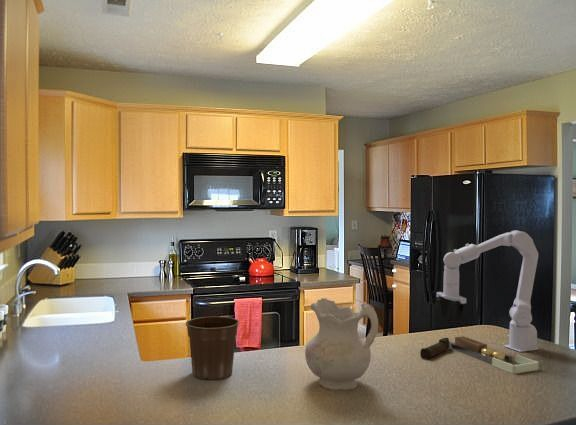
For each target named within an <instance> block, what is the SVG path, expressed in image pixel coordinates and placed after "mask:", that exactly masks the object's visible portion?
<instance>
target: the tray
mask: <svg viewBox="0 0 576 425" xmlns="http://www.w3.org/2000/svg"><path fill="white" fill-rule="evenodd" d="M515 363H517V364H512V363H510V362H508V361H505V362H504V361H501V360H498V359H496V358H492V364H491V366H493V367H495V368H498V369H501V370H503V371H506V372H508V373H511V374H514V375H516V374H520V373H527V372H529V373H530V372H534V371H539V370H540V362H539V361H537V360H534V359H531V358H528V357H525V356H522V355H520V354H515Z"/></svg>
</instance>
